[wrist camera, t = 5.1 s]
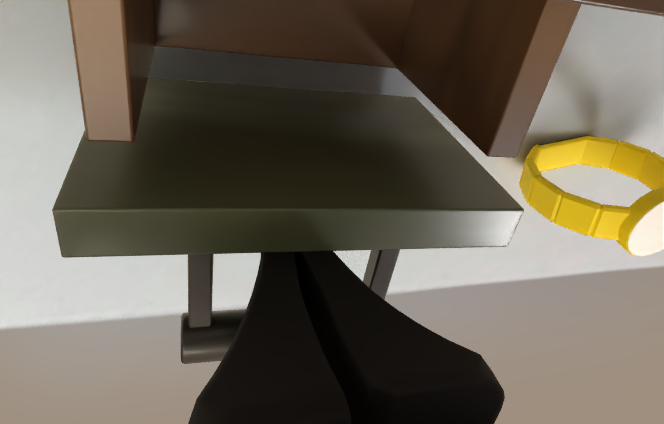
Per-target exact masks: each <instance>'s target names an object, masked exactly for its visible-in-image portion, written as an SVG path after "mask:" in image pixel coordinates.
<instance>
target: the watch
mask: <svg viewBox="0 0 664 424" xmlns="http://www.w3.org/2000/svg"><path fill="white" fill-rule="evenodd" d="M538 145H539V144H535V146H534V147H532V149H531V150H530V152H529V154H528V156H527V157H526V159H525V163H524V167H523V171H522V175H521V179H520V188H521V190H522V192H523V195H524V197H525V199H526V201H527V203H529V205H530V206H531V207H533V208H534V209H535V210H537V211H538V212H539V213H541V214H542V215H543V216H545V217H546V218H547V219H548V220H550V221H551V222H552V221H554V223H555V224H557V225H560V226H562V227H565V228H568V229H570V230H573V231H576V232H578V233H581V234H584V235H586V236H589V235H591V236H592V237H595V238H603V239H612V240H616V241H617V242H618V243H619V244H620V245H621V246H622V247H623V248H624V249H625V250H627V251H628V252H629V253H630V254H632V255H636V256H647V255H650V254H653V253H656V252H658V251H660V250H662V249H664V158H663V157H661V156H659V155H658V154H656V153H655V152H651V151H650V150H647V149H644V148H641V147H638V146H635V145H633V144H630V143H627V142H624V141H619V142H618V140H615V139H608V138H601V137H594V136H585V137H580V138H575V139H570V140H565V141H560V142H555V143H550V144H545V145H540V146H538ZM575 164H582V165H589V166H595V167H601V168H609V169H610V170H613V171H616V172H618V173H621V174H624V175H626V176H629V177H632V178H634V179H638V180H639V181H640V182H642V183H643V184H645V185H646V186H647V187H649V188H650V189H652V190H653V191H651V192H649V193H647V194H645V195H644V196H642V197H641V198H639V199H638V200H637V201H636V202H634V203H633V204H632V205H631V206H630V207H622V206H612V205H601V204H599V203H596V202H593V201H590V200H587V199H584V198H581V197H578V196H576V195H573V194H570V193H567V192H566V193H565V192H564V191H563V190H562V189H560V188H559V187H557V186H556V185H554V184H553V183H551V182H550V181H548V180H547V179H545V178H544V177H542V175H541V173H540V172H543V171H548V170H552V169H557V168H562V167H566V166H571V165H575Z"/></svg>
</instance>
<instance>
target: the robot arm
mask: <svg viewBox="0 0 664 424" xmlns="http://www.w3.org/2000/svg"><path fill="white" fill-rule="evenodd" d="M504 398H505V397H504V391H503V389H502V387H501V385H500V384H499V382H498V380H497V379H496V377H495V376H494V374H493V372H492V371H491V369H490V368H489V366H488V365H487V364H486V362H485V361H484V359H483V358H482V356H481V355H480V354H478V353H476V352H473V351H471V350H469V349H467V348H465V347H462V346H460V345H458V344H456V343H454V342H451V341H449V340H447V339H445V338H443V337H442V336H440V335H438V334H436V333H434V332H432V331H430V330H429V329H427V328H425V327H424V326H422V325H420V324H418V323H417V322H415V321H413V320H412V319H410V318H409V317H407V316H406V315H404V314H403V313H401V312H399V311H398V310H397V309H396V308H394V307H393V306H391V305H390V304H389V303H387V302H386V301H385V300H383V299H382V298H381V297H380V296H378V295H377V294H376V293H375V292H374V291H372V290H371V289H370V288H369V287H368V286H367V285H366V284H365V283H364V282H362V281H361V280H360V279H359V278H358V277H357V276H356V275H355V274H354V273H353V272H352V271H351V270H350V269H349V268H348V267H347V266H346V265H345V264H344V263H343V261H342V260H341V259H340V258H339V257H338V256H337V255H336V254H335V253H334V252H333V251H302V252H262V253H261V260H260V265H259V270H258V275H257V279H256V282H255V285H254V289H253V292H252V296H251V299H250V302H249V304H248V307H247V310H246V312H245V315H244V317H243V320H242V322H241V324H240V326H239V329H238V331H237V333H236V335H235V337H234V339H233V341H232V343H231V345H230V347H229V349H228V351H227V352H226V354H225V356H224V358H223V359H222V361H221V363H220V365H219V366H218V368H217V370H216V371H215V373H214V375H213V376H212V377H211V379H210V381H209V382H208V383H207V385H206V386H205V388H204V389H203V391H202V392H201V394H200V395H199V396H198V398H197V400H196V403H195V406H194V409H193V412H192V414H191V417H190V421H189V424H494V423H495V421H496V418H497V417H498V414H499V412H500V410H501V408H502V405H503V401H504Z"/></svg>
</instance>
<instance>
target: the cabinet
mask: <svg viewBox="0 0 664 424" xmlns="http://www.w3.org/2000/svg"><path fill="white" fill-rule="evenodd" d="M560 1H567V2H573V3H580V4H586V5H593V6H599V7H606V8H612V9H619V10H625V11H632V12H639V13H645V14H652V15H658V16H664V0H560Z"/></svg>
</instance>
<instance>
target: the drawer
mask: <svg viewBox="0 0 664 424" xmlns="http://www.w3.org/2000/svg"><path fill="white" fill-rule="evenodd" d="M580 6H581V4H580V3H573V2H567V1H560V0H68V7H69V15H70V22H71V29H72V37H73V44H74V51H75V59H76V66H77V73H78V80H79V88H80V95H81V102H82V110H83V117H84V124H85V131H84V134H83V136H82V139H81V141H80V143H79V146H78V148H77V151H76V153H75V156H74V158H73V161H72V163H71V165H70V168H69V170H68V173H67V175H66V178H65V180H64V182H63V185H62V187H61V190H60V192H59V195H58V197H57V200H56V202H55V204H54V207H53V209H52V211H53V216H54V221H55V226H56V231H57V236H58V241H59V246H60V251H61V255H62V257H101V256H142V255H182V254H188V313H183V314H182V316H181V361H182V363H184V364H188V363H199V362H211V361H222V359H223V358H224V356H225V354H226V352H227V351H228V349H229V347H230V345H231V343H232V341H233V339H234V337H235V335H236V333H237V331H238V329H239V326H240V324H241V322H242V320H243V317H244V315H245V312H246V310H247V309H244V310H226V311H212V283H213V254H222V253H262V252H302V251H343V250H371V253H370V257H369V260H368V264H367V268H366V272H365V275H364V279H363V282H364V283H365V284H366V285H367V286H368V287H369V288H370V289H371V290H372V291H374V292H375V293H376V294H377V295H378V296H380V297H381V298H382V299H383V300H384V299H385V296H386V293H387V289H388V286H389V283H390V280H391V277H392V273H393V270H394V267H395V264H396V260H397V257H398V254H399V251H400V249H423V248H463V247H504V246H507V245H508V243H509V241H510V239H511V237H512V235H513V233H514V230H515V228H516V226H517V224H518V222H519V220H520V218H521V216H522V213H523V211H524V209H523V208H522V207H521V206H520V205H519V204H518V203H517V202H516V201H515V200H514V199H513V198H512V197H511V196H510V195H509V193H508V192H507V191H506V190H505V189H504V188H503V187H502V186H501V185H500V184H499V183H498V182H497V181H496V180H495V179H494V178H493V177H492V176H491V175H490V174H489V173H488V172H487V171H486V170H485V169H484V168H483V167H482V166H481V165H480V164H479V163H478V162H477V161H476V159H475V158H474V157H473V156H472V155H471V154H470V153H469V152H468V151H467V150H466V149H465V148H464V147H463V146H462V145H461V144H460V143H459V142H458V141H457V140H456V139H455V138H454V137H453V136H452V135H451V134H450V133H449V132H448V131H447V130H446V129H445V128H444V127H443V125H442V124H441V123H440V122H439V121H438V120H437V119H436V118H435V117H434V116H433V115H432V114H431V113H430V112H429V111H428V110H427V109H426V108H425V107H424V106H423V105H422V104H421V103H420V102H419V101H418V100H417V99H416V98H415V97H402V96H389V95H376V94H362V93H349V92H335V91H322V90H309V89H295V88H282V87H268V86H255V85H242V84H228V83H215V82H201V81H188V80H175V79H161V78H148V75H149V70H150V66H151V61H152V56H153V52H154V47H155V46H164V47H175V48H186V49H197V50H207V51H218V52H229V53H240V54H251V55H261V56H272V57H283V58H294V59H304V60H315V61H326V62H337V63H348V64H358V65H369V66H380V67H391V68H398V69H399V70H400V71H401V72H402V73H403V74H404V75H405V76H406V77H407V78H408V79H409V80H410V81H411V82H412V83H413V84H414V85H415V86H416V87H417V88H418V89H419V90H420V91H421V92H422V93H423V94H424V95H425V96H426V97H427V98H428V99H429V100H430V101H431V102H432V103H433V104H434V105H435V106H436V107H437V108H438V109H439V110H441V111H442V112H443V113H444V114H445V115H446V116H447V117H448V118H449V119H450V120H451V121H452V122H453V123H454V124H455V125H456V126H457V127H458V128H459V129H460V130H461V131H462V132H463V133H464V134H465V135H466V136H467V137H468V138H469V139H470V140H471V141H472V142H473V143H474V144H475V145H476V146H477V147H478V148H479V149H480V150H481V151H482V152H483V153H484V154H485V155H487V156H492V157H516V156H517V154H518V152H519V150H520V147H521V145H522V143H523V140H524V138H525V136H526V133H527V131H528V128H529V126H530V124H531V121H532V119H533V117H534V114H535V112H536V110H537V107H538V105H539V103H540V100H541V98H542V96H543V93H544V91H545V88H546V86H547V84H548V81H549V79H550V77H551V74H552V72H553V70H554V67H555V65H556V63H557V60H558V58H559V56H560V53H561V51H562V48H563V46H564V44H565V41H566V39H567V37H568V34H569V32H570V30H571V27H572V25H573V23H574V20H575V18H576V16H577V13H578V11H579V9H580Z"/></svg>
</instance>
